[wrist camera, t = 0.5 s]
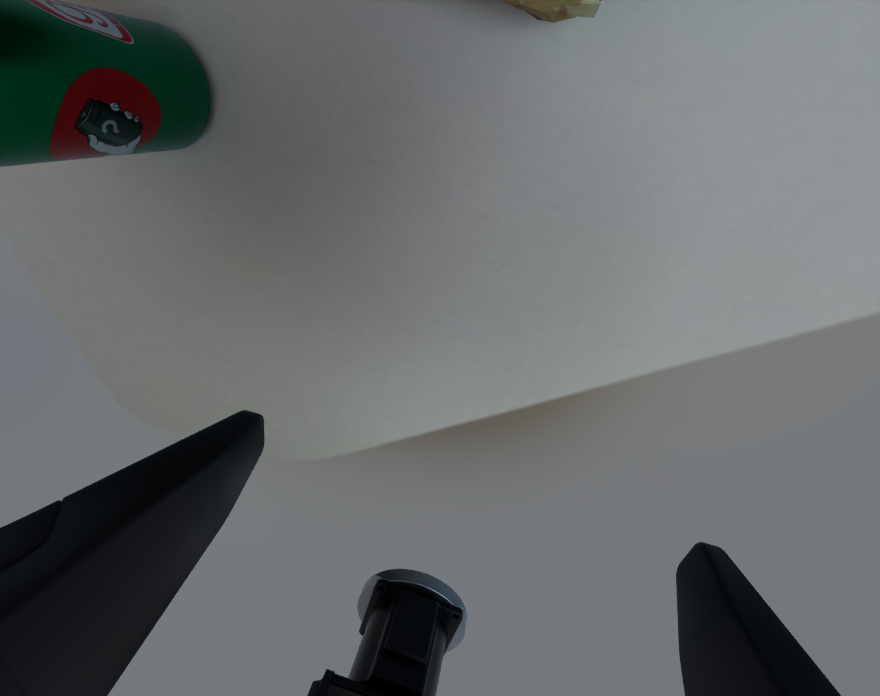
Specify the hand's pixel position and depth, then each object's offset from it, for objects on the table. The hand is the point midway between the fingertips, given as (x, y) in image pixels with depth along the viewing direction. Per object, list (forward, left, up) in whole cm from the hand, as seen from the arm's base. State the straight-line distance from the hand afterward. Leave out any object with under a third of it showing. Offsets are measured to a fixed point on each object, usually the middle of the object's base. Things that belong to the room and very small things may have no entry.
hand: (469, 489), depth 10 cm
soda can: (+3, +18, -15) cm, 23 cm away
